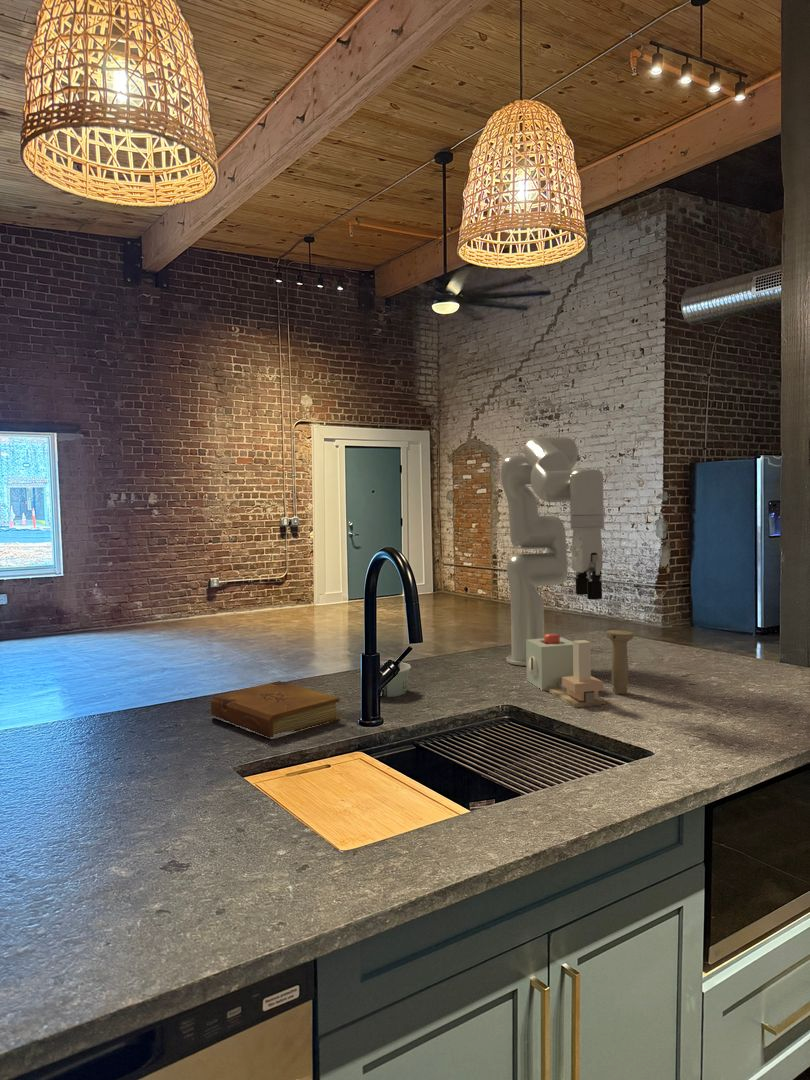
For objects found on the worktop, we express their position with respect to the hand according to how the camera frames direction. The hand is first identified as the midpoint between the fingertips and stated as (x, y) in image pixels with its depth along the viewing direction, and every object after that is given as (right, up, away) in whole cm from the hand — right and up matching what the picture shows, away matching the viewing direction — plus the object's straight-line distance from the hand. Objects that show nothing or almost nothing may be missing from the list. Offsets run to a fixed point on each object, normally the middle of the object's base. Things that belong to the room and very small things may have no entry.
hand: (588, 596), depth 174 cm
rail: (-2, -25, +6) cm, 25 cm away
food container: (-47, -26, +16) cm, 56 cm away
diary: (-72, -28, -5) cm, 77 cm away
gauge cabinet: (-5, -24, +19) cm, 31 cm away
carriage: (-1, -24, +2) cm, 24 cm away
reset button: (-5, -14, +18) cm, 24 cm away
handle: (+10, -24, +9) cm, 28 cm away
